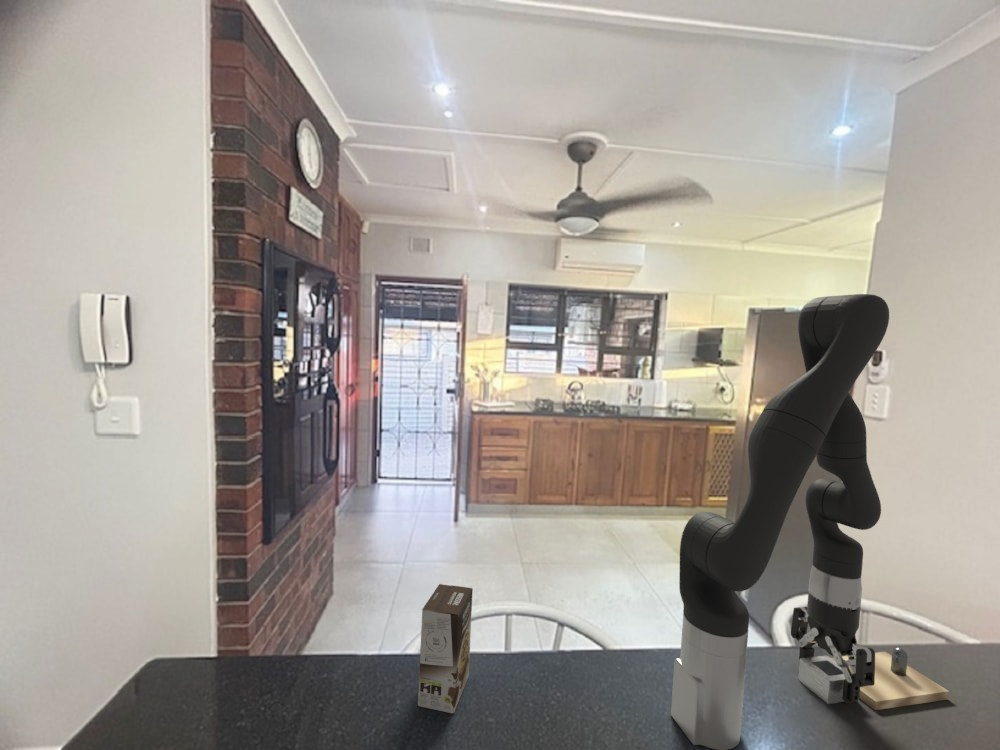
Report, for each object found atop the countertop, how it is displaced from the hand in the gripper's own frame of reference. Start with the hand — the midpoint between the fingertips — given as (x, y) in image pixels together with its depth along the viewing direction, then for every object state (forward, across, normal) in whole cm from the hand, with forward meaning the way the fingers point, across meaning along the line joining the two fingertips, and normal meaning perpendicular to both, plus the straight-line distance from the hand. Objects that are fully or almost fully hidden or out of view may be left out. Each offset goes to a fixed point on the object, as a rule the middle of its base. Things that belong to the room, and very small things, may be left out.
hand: (826, 683), depth 83 cm
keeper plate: (+1, 0, +12) cm, 12 cm away
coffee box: (+1, -10, -67) cm, 68 cm away
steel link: (+1, 0, 0) cm, 1 cm away
